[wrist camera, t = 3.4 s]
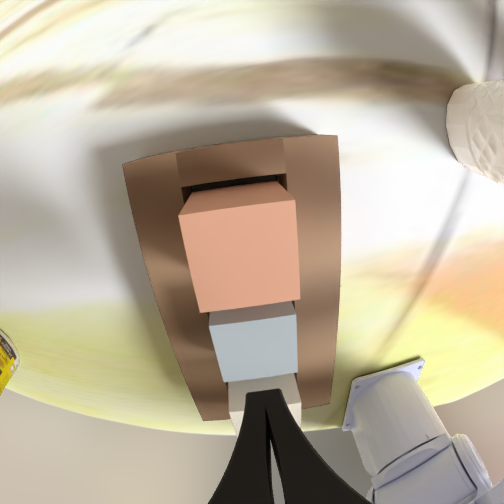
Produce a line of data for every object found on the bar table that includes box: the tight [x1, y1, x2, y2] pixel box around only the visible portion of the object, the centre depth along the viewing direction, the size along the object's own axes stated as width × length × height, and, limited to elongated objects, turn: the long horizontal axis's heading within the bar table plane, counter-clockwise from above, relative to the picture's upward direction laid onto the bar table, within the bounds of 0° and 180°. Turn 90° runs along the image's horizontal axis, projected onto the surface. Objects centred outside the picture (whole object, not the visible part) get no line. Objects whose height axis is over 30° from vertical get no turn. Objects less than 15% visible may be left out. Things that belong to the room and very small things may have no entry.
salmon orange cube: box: [178, 181, 300, 313], centre depth 12 cm, size 4×4×4 cm
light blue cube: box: [209, 301, 298, 382], centre depth 15 cm, size 4×4×4 cm
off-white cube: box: [228, 373, 301, 440], centre depth 17 cm, size 4×4×4 cm
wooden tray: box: [122, 135, 341, 421], centre depth 17 cm, size 19×10×3 cm, turn 6°
